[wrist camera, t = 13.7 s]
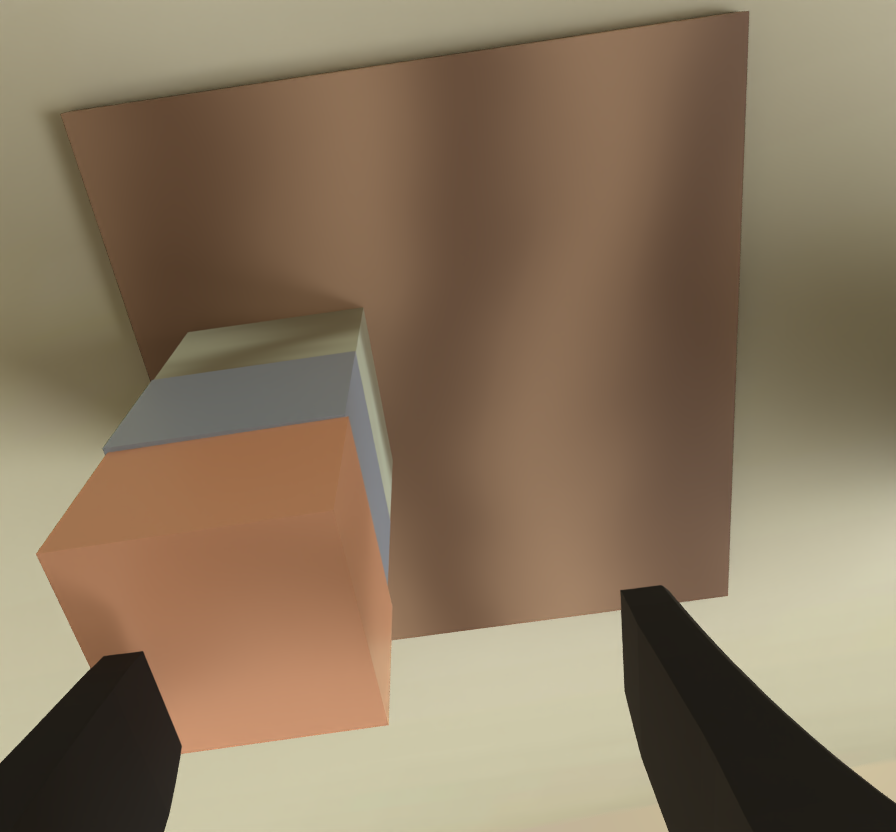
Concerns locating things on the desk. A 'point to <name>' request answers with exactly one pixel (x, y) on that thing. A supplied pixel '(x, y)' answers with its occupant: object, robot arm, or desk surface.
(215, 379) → the brick slate
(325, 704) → the brick terracotta
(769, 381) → the desk surface
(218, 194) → the build board
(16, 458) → the desk surface
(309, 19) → the desk surface
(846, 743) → the desk surface
